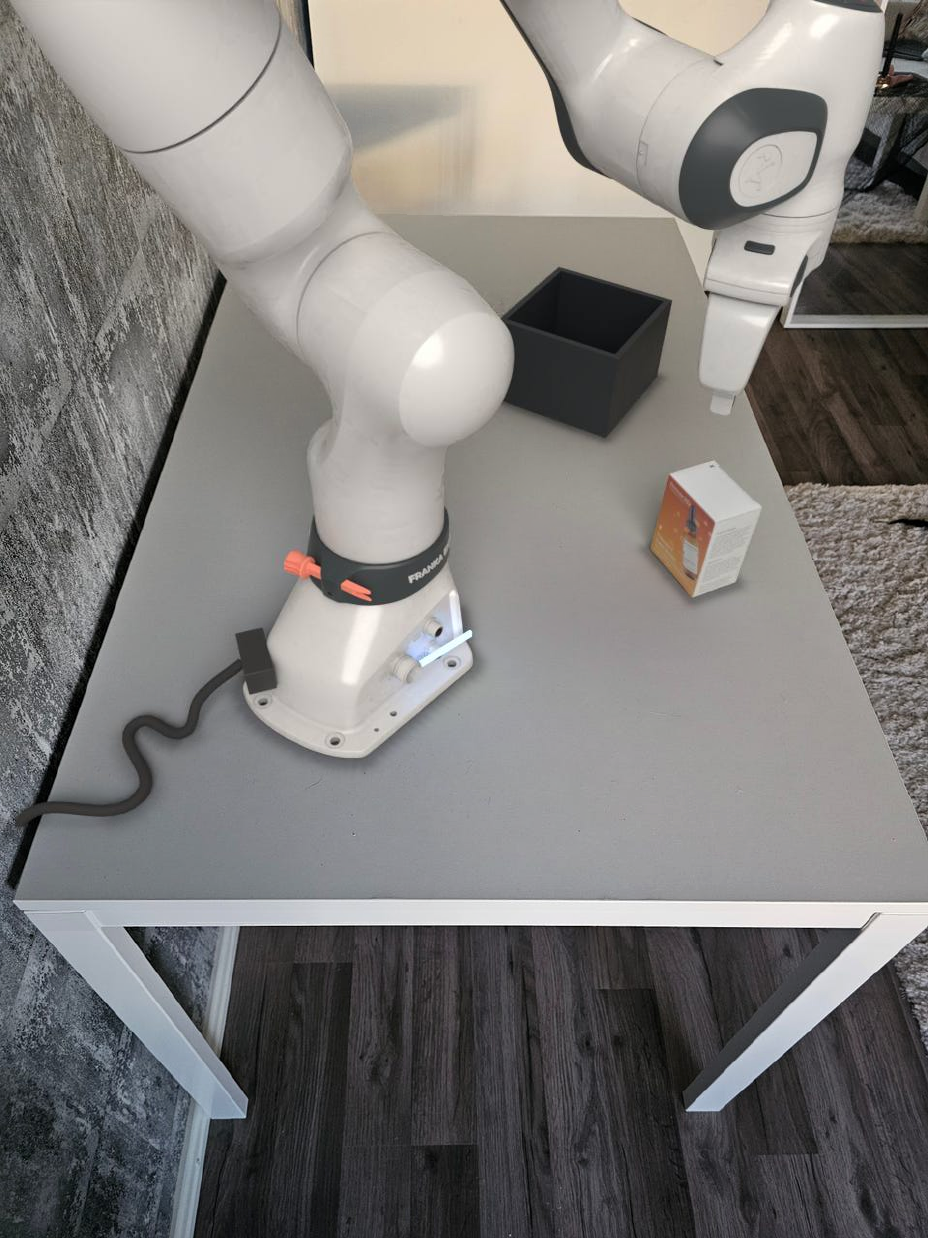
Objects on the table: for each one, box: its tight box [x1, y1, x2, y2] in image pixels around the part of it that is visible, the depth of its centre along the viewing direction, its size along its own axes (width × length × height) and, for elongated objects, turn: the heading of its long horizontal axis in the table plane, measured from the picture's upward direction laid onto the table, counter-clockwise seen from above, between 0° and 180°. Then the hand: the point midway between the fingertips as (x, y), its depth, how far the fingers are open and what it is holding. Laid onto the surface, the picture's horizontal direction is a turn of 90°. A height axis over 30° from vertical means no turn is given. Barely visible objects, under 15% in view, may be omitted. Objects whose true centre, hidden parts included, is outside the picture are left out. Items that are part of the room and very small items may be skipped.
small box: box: [649, 459, 763, 598], centre depth 91 cm, size 8×6×10 cm
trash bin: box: [499, 266, 673, 439], centre depth 113 cm, size 16×16×11 cm
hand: (733, 381), depth 81 cm, fingers open, 8 cm apart
